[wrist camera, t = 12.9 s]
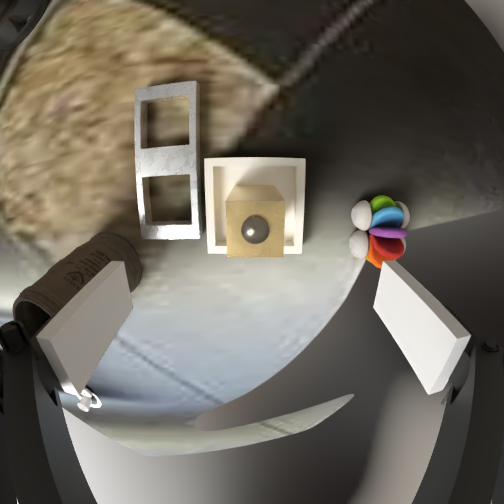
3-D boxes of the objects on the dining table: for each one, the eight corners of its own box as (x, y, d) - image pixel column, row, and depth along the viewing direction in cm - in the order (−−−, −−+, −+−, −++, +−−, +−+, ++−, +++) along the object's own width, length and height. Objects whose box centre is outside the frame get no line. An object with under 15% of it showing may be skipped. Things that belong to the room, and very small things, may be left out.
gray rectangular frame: (142, 92, 30) (135, 89, 28) (200, 85, 30) (196, 80, 27) (148, 233, 37) (141, 239, 34) (202, 233, 37) (199, 238, 34)
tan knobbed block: (234, 184, 34) (225, 201, 22) (274, 185, 34) (285, 201, 22) (235, 223, 36) (226, 258, 24) (273, 223, 36) (283, 258, 24)
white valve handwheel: (82, 380, 50) (75, 391, 46) (108, 400, 52) (102, 412, 48) (71, 390, 52) (65, 401, 48) (95, 409, 54) (90, 420, 50)
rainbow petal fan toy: (344, 258, 38) (361, 280, 31) (349, 191, 35) (371, 200, 28) (394, 257, 38) (416, 277, 31) (401, 194, 35) (429, 204, 28)
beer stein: (91, 217, 36) (1, 280, 18) (149, 243, 37) (76, 329, 19) (83, 293, 42) (22, 366, 24) (132, 318, 43) (83, 405, 25)
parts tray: (207, 158, 33) (204, 158, 31) (302, 158, 33) (305, 158, 31) (210, 247, 37) (208, 253, 35) (298, 247, 37) (301, 253, 35)
